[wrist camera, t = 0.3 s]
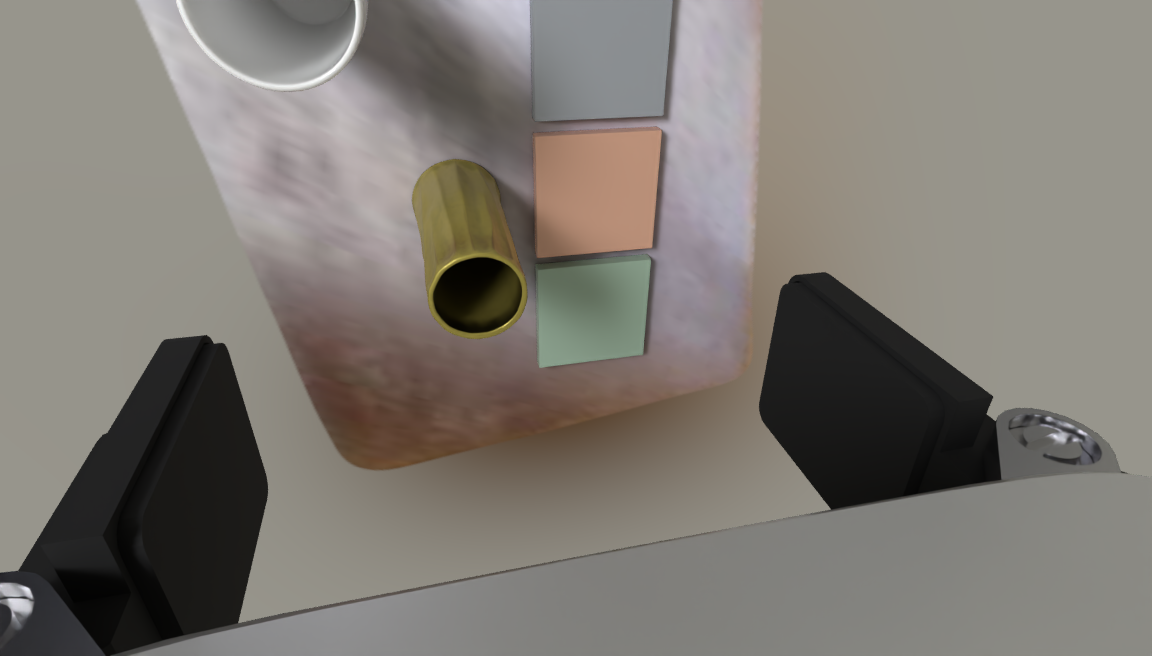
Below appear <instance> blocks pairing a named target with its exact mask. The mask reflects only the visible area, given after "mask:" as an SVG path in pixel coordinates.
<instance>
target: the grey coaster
mask: <svg viewBox="0 0 1152 656" xmlns="http://www.w3.org/2000/svg"><path fill="white" fill-rule="evenodd" d="M672 4H673V0H530V28H531V78H532V118H533V119H534V121H535V122H537V121H558V120H580V119H602V118H623V117H645V116H663V111H664V99H665V87H666V75H667V63H668V52H669V40H670V28H671V16H672Z"/></svg>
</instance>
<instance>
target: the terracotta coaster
mask: <svg viewBox="0 0 1152 656" xmlns="http://www.w3.org/2000/svg"><path fill="white" fill-rule="evenodd" d="M661 135H662V130H661V129H660V128H658V127H638V128H618V129H597V130H577V131H557V132H537V133H533V177H534V227H535V254H536V256H537V258H544V257H555V256H566V255H577V254H588V253H599V252H610V251H622V250H633V249H644V248H652V241H653V230H654V218H655V206H656V194H657V182H658V170H659V158H660V147H661Z"/></svg>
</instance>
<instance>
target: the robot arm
mask: <svg viewBox="0 0 1152 656" xmlns="http://www.w3.org/2000/svg"><path fill="white" fill-rule="evenodd" d="M992 399H993V396H992V395H990V394H989V393H988V392H987V391H985V390H984V389H983V388H981V387H980V386H978V385H977V384H976V383H975V382H973V381H972V380H970V379H969V378H968V377H967V376H965V375H964V374H962V373H961V372H960V371H958V370H957V369H956V368H954V367H953V366H952V365H950V364H949V363H948V362H946V361H945V360H944V359H942V358H941V357H940V356H938V355H937V354H936V353H934V352H933V351H932V350H930V349H929V348H928V347H926V346H925V345H924V344H922V343H921V342H920V341H918V340H917V339H916V338H914V337H913V336H911V335H910V334H909V333H907V332H906V331H905V330H903V329H902V328H901V327H899V326H898V325H897V324H895V323H894V322H892V321H891V320H890V319H889V318H887V317H886V316H885V315H883V314H882V313H881V312H879V311H878V310H876V309H875V308H874V307H872V306H871V305H870V304H869V303H867V302H866V301H865V300H863V299H862V298H860V297H859V296H858V295H856V294H855V293H854V292H853V291H851V290H850V289H848V288H847V287H846V286H844V285H843V284H842V283H840V282H839V281H838V280H836V279H835V278H834V277H832V276H831V275H829V274H828V273H825V272H822V273H812V274H803V275H795V276H793V277H792V278H791V279H790V281H789V283H788V284H785V285H784V286H783V287H782V289H781V291H780V295H779V301H778V306H777V312H776V317H775V322H774V327H773V333H772V338H771V343H770V349H769V354H768V360H767V365H766V370H765V375H764V381H763V386H762V391H761V397H760V402H759V411H760V415H761V418H762V421H763V422H764V424H765V425H766V426H767V428H768V429H769V430H770V432H771V433H772V434H773V435H774V436H775V438H776V439H777V441H778V442H779V443H780V444H781V446H782V447H783V448H784V450H785V451H786V452H787V453H788V455H789V456H790V457H791V458H792V460H793V461H794V462H795V463H796V465H797V466H798V467H799V469H800V470H801V471H802V473H803V474H804V475H805V476H806V478H807V479H808V480H809V481H810V483H811V484H812V485H813V487H814V488H815V489H816V491H817V492H818V493H819V494H820V496H821V497H822V498H823V500H824V501H825V502H826V503H827V504H828V506H829V507H830V508H831V510H827V511H822V512H816V513H811V514H805V515H799V516H794V517H788V518H783V519H777V520H772V521H766V522H761V523H755V524H751V525H744V526H739V527H734V528H729V529H723V530H718V531H712V532H707V533H701V534H696V535H692V536H686V537H680V538H675V539H669V540H664V541H659V542H653V543H648V544H643V545H637V546H633V547H627V548H621V549H616V550H611V551H606V552H601V553H595V554H589V555H584V556H579V557H573V558H568V559H563V560H558V561H552V562H548V563H542V564H537V565H531V566H526V567H521V568H516V569H511V570H506V571H500V572H495V573H490V574H485V575H480V576H475V577H469V578H464V579H459V580H454V581H449V582H444V583H438V584H433V585H428V586H423V587H418V588H413V589H407V590H402V591H397V592H392V593H386V594H381V595H376V596H371V597H366V598H361V599H355V600H350V601H345V602H340V603H335V604H329V605H324V606H319V607H314V608H309V609H303V610H298V611H293V612H288V613H282V614H278V615H274V616H269V617H264V618H260V619H255V620H251V621H247V622H242V623H238V621H239V617H240V613H241V608H242V604H243V600H244V595H245V591H246V587H247V583H248V578H249V574H250V570H251V566H252V561H253V557H254V553H255V548H256V544H257V540H258V536H259V531H260V527H261V523H262V519H263V515H264V510H265V506H266V502H267V496H268V483H267V477H266V473H265V469H264V466H263V463H262V460H261V456H260V453H259V450H258V447H257V443H256V440H255V437H254V433H253V430H252V427H251V424H250V420H249V417H248V414H247V411H246V407H245V404H244V401H243V398H242V394H241V391H240V388H239V384H238V381H237V378H236V375H235V371H234V368H233V365H232V362H231V358H230V355H229V352H228V350H227V347H226V346H225V344H223V343H217V344H214V343H213V341H212V340H211V338H210V337H208V336H207V335H204V336H194V337H185V338H175V339H166V340H164V341H163V342H162V343H161V344H160V346H159V348H158V349H157V351H156V353H155V354H154V356H153V358H152V360H151V361H150V363H149V364H148V366H147V368H146V370H145V371H144V373H143V375H142V376H141V378H140V379H139V381H138V383H137V384H136V386H135V388H134V390H133V391H132V393H131V395H130V396H129V398H128V399H127V401H126V403H125V405H124V406H123V408H122V409H121V411H120V413H119V415H118V416H117V418H116V420H115V421H114V423H113V425H112V426H111V428H110V430H109V431H108V433H106V434H104V435H102V437H101V438H100V439H99V440H98V441H97V443H96V444H95V446H94V447H93V449H92V451H91V452H90V454H89V455H88V457H87V459H86V460H85V462H84V464H83V465H82V467H81V469H80V470H79V472H78V474H77V475H76V477H75V478H74V480H73V482H72V483H71V485H70V487H69V488H68V490H67V492H66V493H65V495H64V497H63V498H62V500H61V502H60V503H59V505H58V506H57V508H56V510H55V511H54V513H53V515H52V516H51V518H50V520H49V521H48V523H47V524H46V526H45V528H44V529H43V531H42V533H41V535H40V536H39V538H38V539H37V541H36V543H35V544H34V546H33V548H32V549H31V551H30V553H29V554H28V556H27V557H26V559H25V561H24V562H23V564H22V566H21V567H20V569H19V570H18V571H11V572H1V573H0V656H1152V477H1149V476H1142V475H1134V474H1128V473H1125V472H1122V471H1120V468H1119V465H1118V462H1117V459H1116V455H1115V453H1114V451H1113V450H1112V448H1111V447H1110V445H1109V444H1108V443H1107V442H1106V441H1105V440H1104V439H1103V438H1102V437H1101V436H1100V435H1099V434H1098V433H1096V432H1094V431H1093V430H1091V429H1090V428H1088V427H1086V426H1085V425H1083V424H1081V423H1079V422H1077V421H1075V420H1072V419H1070V418H1068V417H1066V416H1063V415H1059V414H1056V413H1052V412H1049V411H1045V410H1039V409H1033V408H1015V409H1011V410H1007V411H1004V412H1003V413H1001V414H1000V415H999V416H998V417H997V420H996V421H994V420H993V419H992V418H991V417H989V416H988V415H987V414H986V413H987V411H988V408H989V406H990V403H991V401H992Z"/></svg>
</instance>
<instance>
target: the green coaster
mask: <svg viewBox="0 0 1152 656" xmlns="http://www.w3.org/2000/svg"><path fill="white" fill-rule="evenodd" d="M650 265H651V259H650V258H649V256H648V255H647V254H642V255H631V256H620V257H609V258H598V259H588V260H577V261H566V262H555V263H544V264H535V276H536V326H537V362H538V365H539V368H541V367H549V366H557V365H565V364H573V363H580V362H588V361H596V360H604V359H612V358H620V357H628V356H636V355H643V348H644V336H645V324H646V313H647V301H648V289H649V277H650Z"/></svg>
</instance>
